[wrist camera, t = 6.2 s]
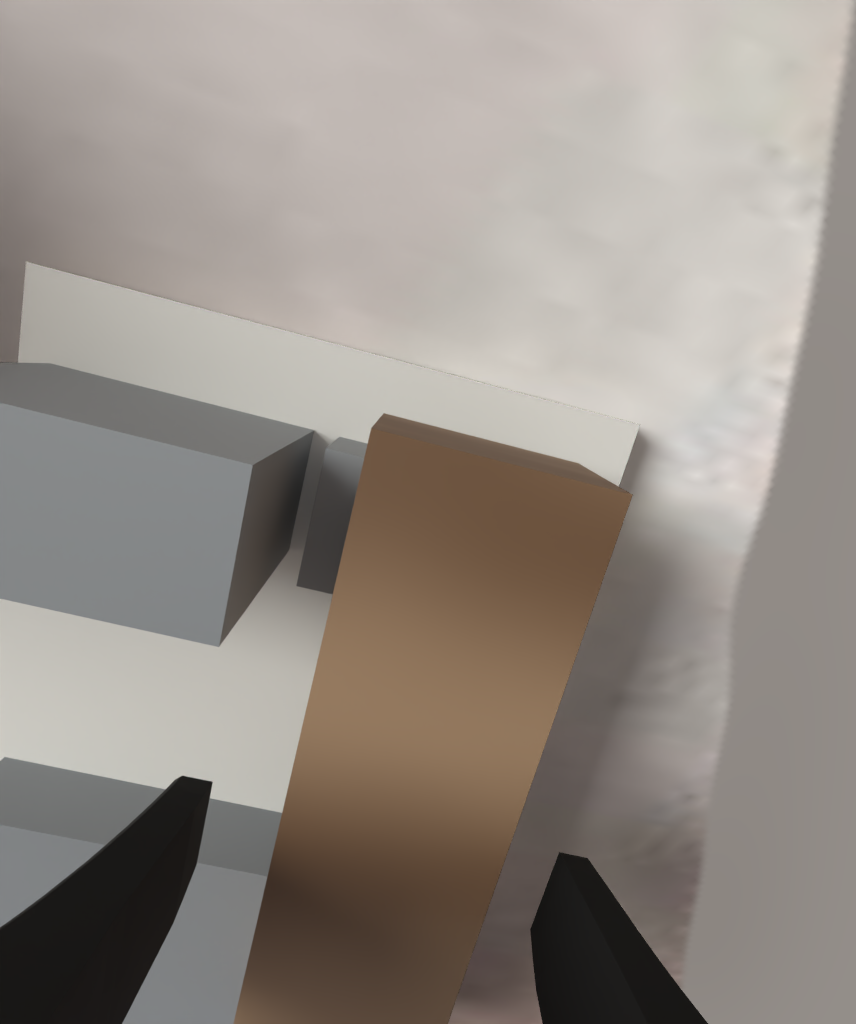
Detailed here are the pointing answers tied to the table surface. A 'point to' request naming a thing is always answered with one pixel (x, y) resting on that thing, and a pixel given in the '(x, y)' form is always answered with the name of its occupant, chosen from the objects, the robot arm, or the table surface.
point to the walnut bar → (424, 721)
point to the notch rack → (188, 581)
